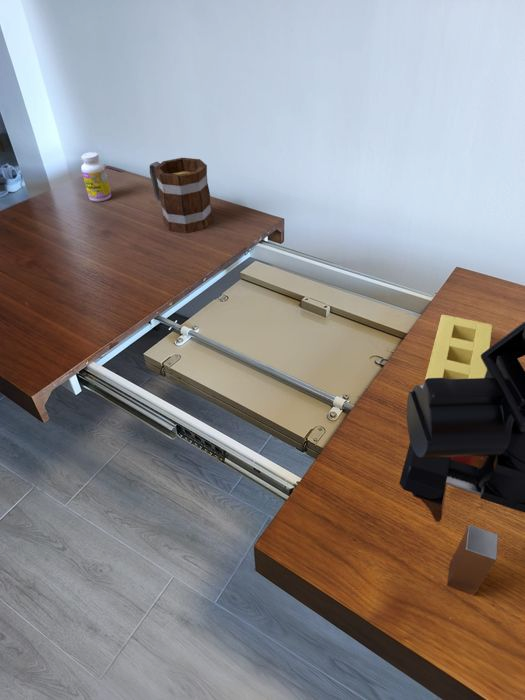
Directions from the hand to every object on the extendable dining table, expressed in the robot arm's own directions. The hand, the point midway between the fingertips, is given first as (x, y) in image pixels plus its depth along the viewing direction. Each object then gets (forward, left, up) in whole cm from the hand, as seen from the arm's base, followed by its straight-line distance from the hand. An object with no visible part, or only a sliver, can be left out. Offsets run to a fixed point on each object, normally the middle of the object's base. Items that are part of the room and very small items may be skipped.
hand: (483, 533), depth 49 cm
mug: (+82, -72, -10) cm, 109 cm away
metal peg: (0, 0, -10) cm, 10 cm away
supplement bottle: (+113, -76, -10) cm, 136 cm away
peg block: (+5, -36, -10) cm, 37 cm away
